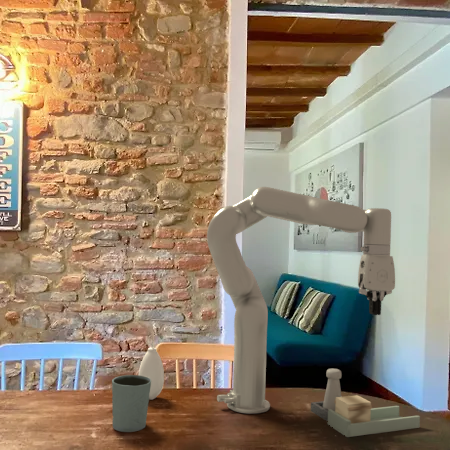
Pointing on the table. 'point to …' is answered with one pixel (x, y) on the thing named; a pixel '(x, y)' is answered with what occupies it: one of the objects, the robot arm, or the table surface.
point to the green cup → (130, 402)
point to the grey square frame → (319, 410)
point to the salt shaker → (332, 389)
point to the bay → (373, 422)
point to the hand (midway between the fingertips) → (374, 314)
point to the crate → (353, 408)
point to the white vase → (153, 371)
